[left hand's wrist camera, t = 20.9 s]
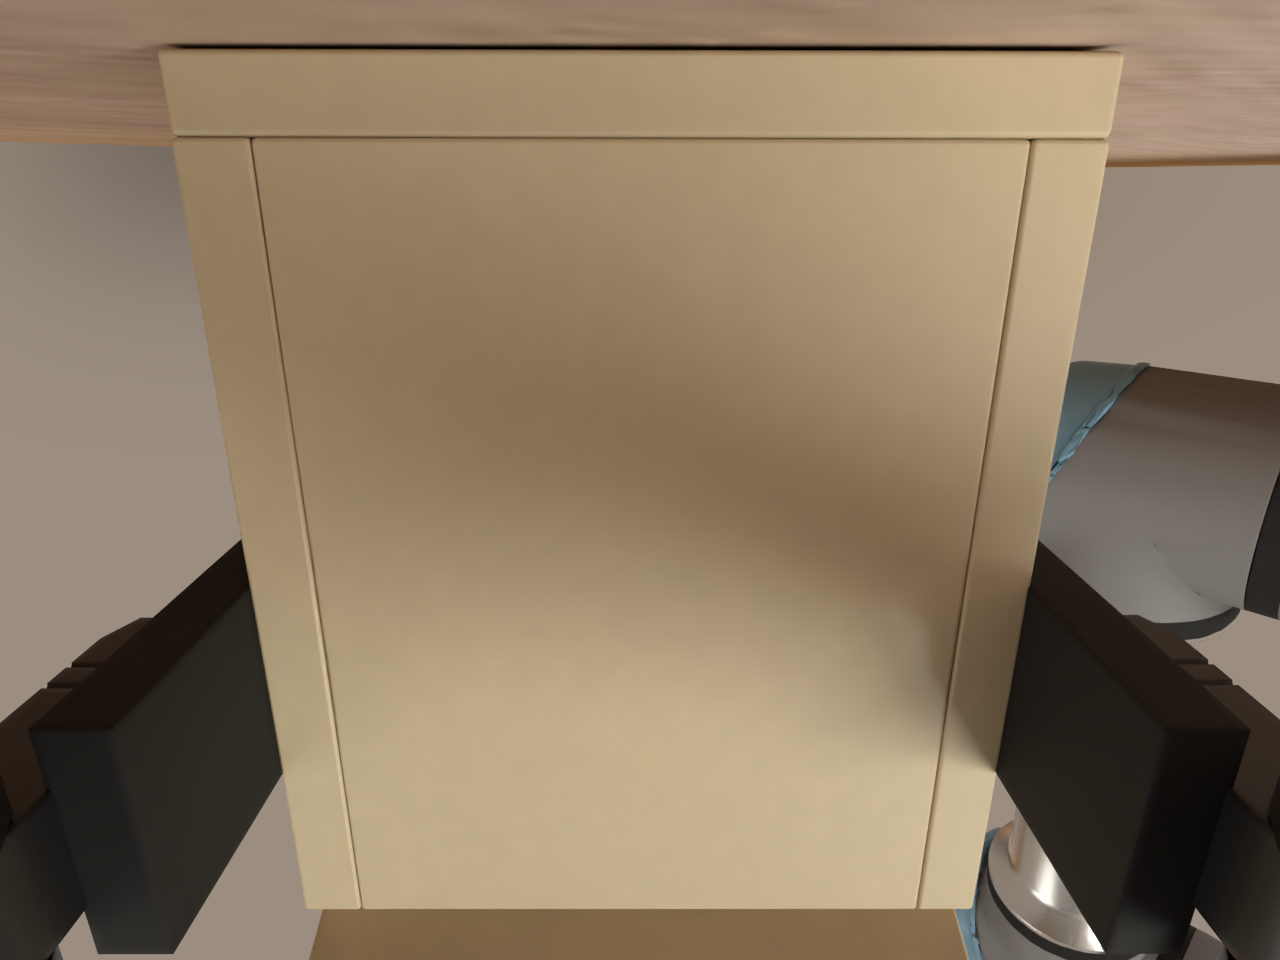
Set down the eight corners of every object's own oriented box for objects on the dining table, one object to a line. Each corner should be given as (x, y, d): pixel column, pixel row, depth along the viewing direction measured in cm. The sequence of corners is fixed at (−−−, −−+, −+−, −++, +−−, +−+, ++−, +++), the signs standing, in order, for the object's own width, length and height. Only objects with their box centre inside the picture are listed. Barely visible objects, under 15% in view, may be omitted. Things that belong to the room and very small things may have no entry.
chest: (828, 142, 20) (798, 540, 24) (450, 141, 20) (478, 540, 24) (1129, 49, 8) (973, 910, 11) (152, 46, 8) (304, 911, 11)
